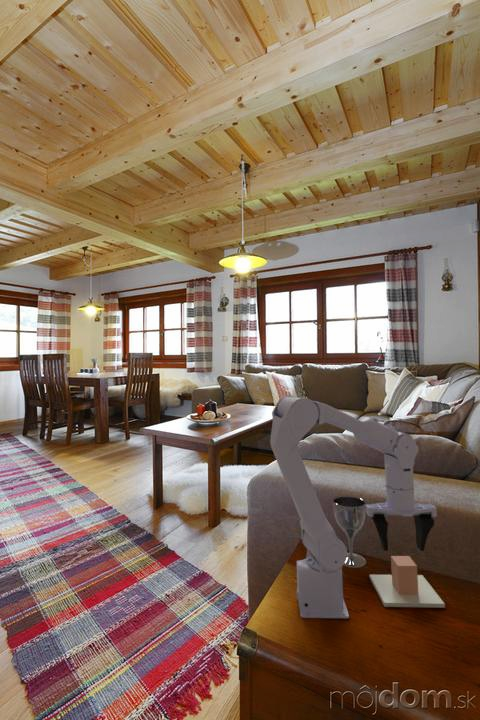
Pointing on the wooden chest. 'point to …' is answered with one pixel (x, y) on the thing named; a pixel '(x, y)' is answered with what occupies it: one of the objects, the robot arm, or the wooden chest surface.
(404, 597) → the mat
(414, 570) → the block
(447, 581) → the wooden chest surface
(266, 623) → the wooden chest surface
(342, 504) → the wine glass
